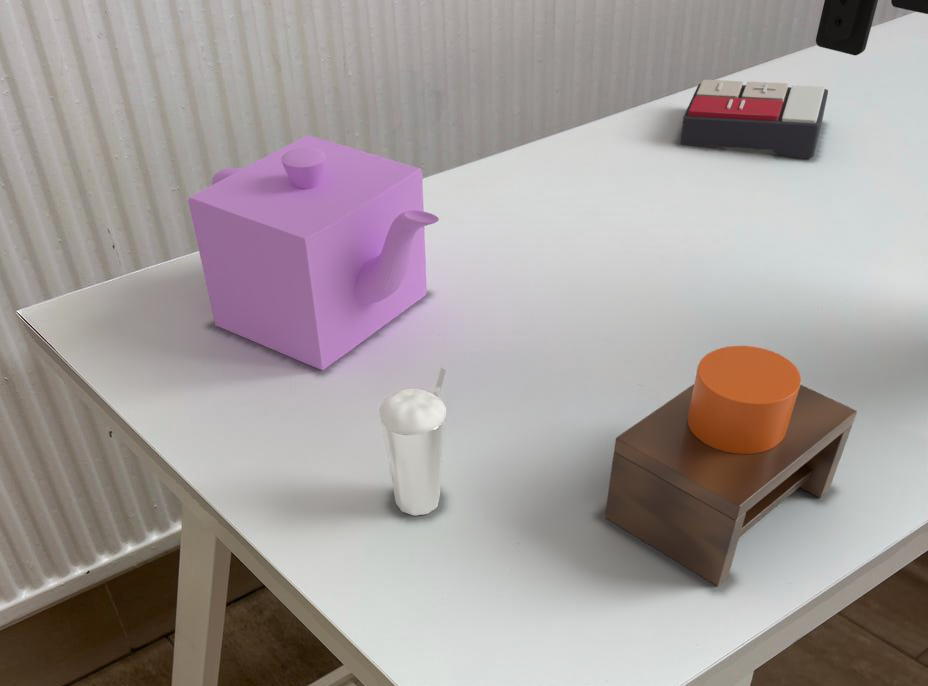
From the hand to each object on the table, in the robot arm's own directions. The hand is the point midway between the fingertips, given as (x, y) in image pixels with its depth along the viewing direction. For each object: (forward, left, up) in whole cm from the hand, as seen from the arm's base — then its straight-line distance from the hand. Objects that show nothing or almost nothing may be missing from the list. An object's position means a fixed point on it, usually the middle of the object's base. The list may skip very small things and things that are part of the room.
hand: (877, 28), depth 64 cm
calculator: (+29, -38, -26) cm, 55 cm away
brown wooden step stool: (-7, +19, -26) cm, 32 cm away
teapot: (+34, +22, -26) cm, 48 cm away
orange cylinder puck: (-7, +19, -18) cm, 27 cm away
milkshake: (+9, +34, -26) cm, 44 cm away
